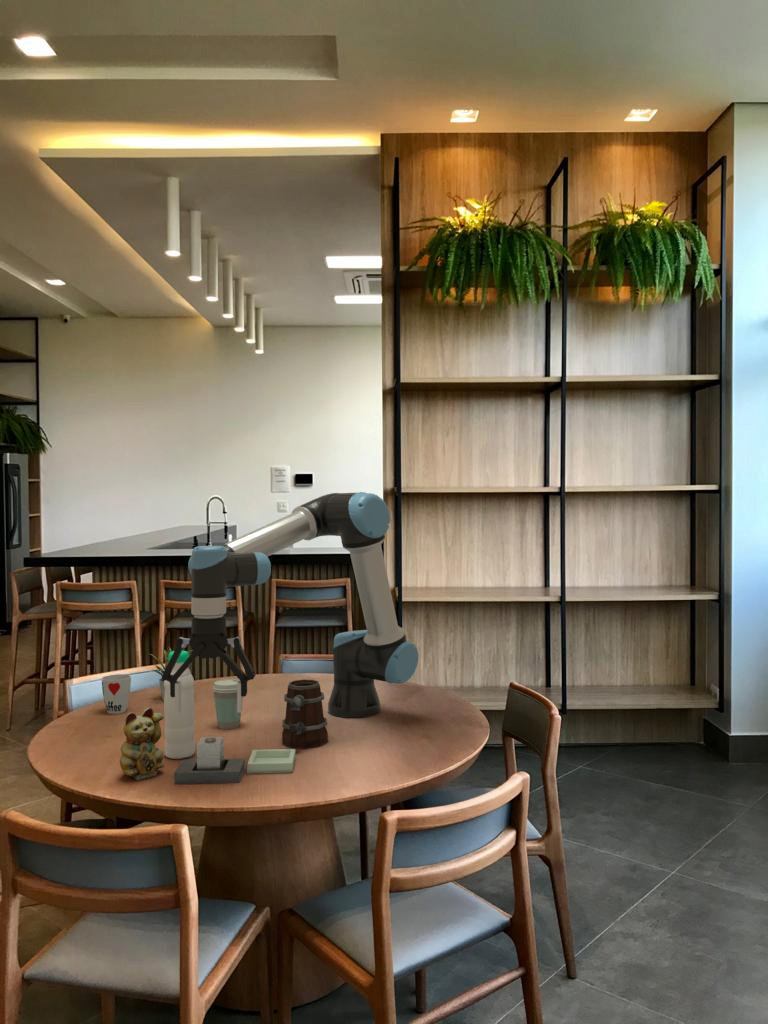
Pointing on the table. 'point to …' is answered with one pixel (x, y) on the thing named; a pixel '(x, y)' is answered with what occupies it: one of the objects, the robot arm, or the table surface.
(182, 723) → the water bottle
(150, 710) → the decorative figurine
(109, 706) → the cup
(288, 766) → the parts tray
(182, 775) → the grey rectangular frame
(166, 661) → the house plant
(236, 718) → the coffee cup
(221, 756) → the block
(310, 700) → the mug
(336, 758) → the table surface
